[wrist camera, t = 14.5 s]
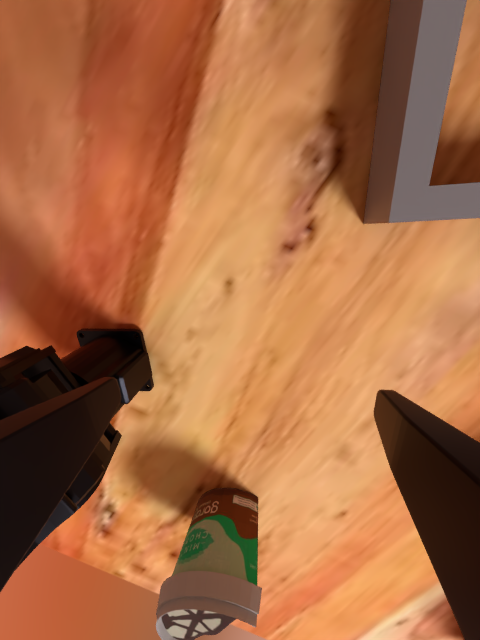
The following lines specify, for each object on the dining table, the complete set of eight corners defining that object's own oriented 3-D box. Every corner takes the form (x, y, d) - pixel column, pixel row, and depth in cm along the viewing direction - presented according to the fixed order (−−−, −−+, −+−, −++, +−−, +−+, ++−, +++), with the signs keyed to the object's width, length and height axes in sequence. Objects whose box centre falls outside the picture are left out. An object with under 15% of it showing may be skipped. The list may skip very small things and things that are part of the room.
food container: (221, 463, 27) (193, 588, 18) (265, 491, 27) (260, 625, 18) (171, 511, 31) (128, 630, 22) (210, 534, 32) (183, 658, 23)
